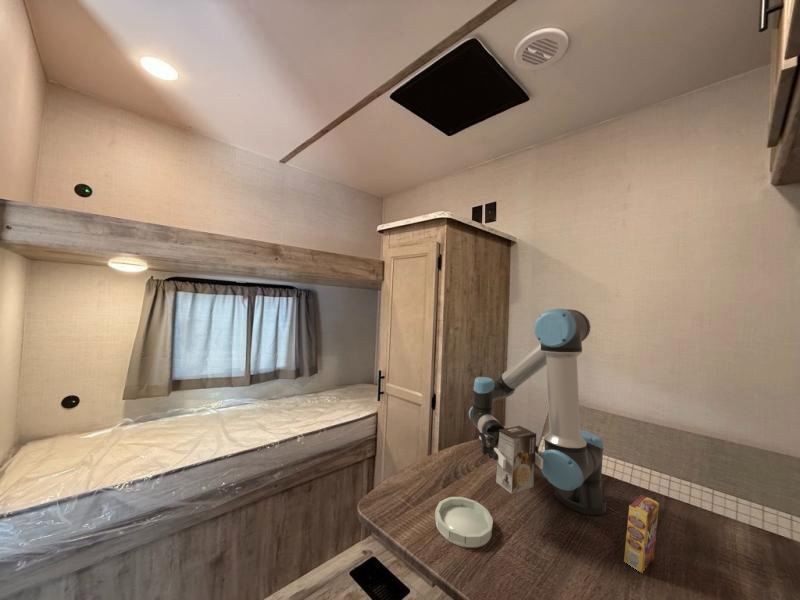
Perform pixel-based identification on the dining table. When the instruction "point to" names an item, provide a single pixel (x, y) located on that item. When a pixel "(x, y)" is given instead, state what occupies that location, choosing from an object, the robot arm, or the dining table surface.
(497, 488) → the dining table surface
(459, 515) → the round dish
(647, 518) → the candy box
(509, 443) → the coffee box
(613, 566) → the dining table surface
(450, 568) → the dining table surface
